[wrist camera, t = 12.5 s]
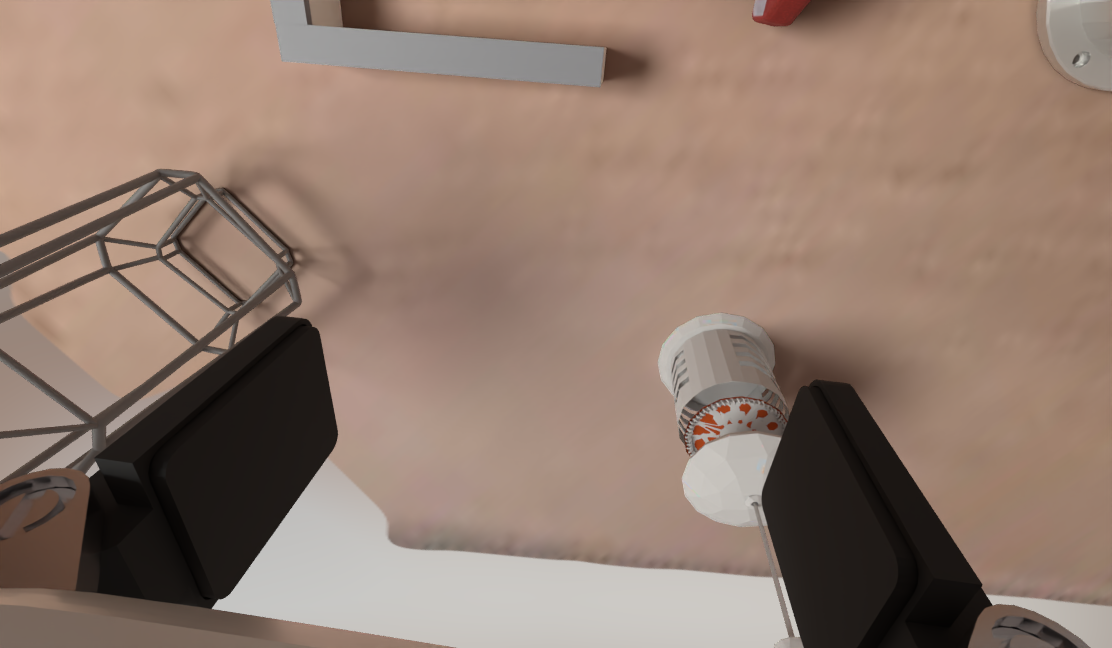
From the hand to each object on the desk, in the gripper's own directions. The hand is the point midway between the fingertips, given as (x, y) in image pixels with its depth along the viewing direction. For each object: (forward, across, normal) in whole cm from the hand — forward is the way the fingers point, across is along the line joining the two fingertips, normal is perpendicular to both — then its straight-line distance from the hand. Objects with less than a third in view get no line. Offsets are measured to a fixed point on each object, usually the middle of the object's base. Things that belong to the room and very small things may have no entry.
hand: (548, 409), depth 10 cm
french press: (+31, -12, +18) cm, 38 cm away
